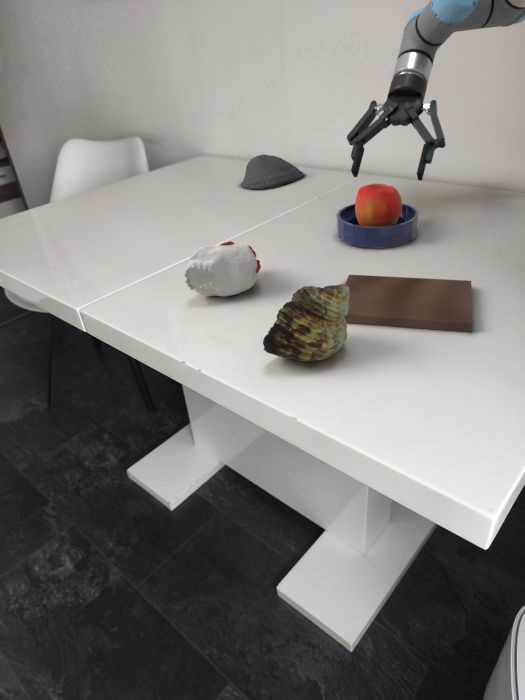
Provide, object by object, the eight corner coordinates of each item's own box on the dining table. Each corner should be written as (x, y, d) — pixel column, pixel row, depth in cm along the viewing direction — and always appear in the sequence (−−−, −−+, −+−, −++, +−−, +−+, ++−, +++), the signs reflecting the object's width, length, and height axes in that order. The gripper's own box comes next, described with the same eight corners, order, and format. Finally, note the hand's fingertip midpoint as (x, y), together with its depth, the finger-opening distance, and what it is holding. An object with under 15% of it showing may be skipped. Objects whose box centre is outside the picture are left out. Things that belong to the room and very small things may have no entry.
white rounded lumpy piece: (184, 303, 92) (220, 276, 104) (246, 308, 88) (275, 279, 101) (178, 251, 88) (216, 229, 100) (242, 255, 84) (273, 231, 97)
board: (469, 288, 89) (471, 280, 88) (471, 332, 78) (472, 323, 77) (348, 282, 94) (348, 274, 94) (334, 321, 83) (333, 313, 83)
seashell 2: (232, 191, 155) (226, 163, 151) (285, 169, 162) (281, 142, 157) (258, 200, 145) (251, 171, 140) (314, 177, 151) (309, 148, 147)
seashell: (274, 332, 82) (269, 272, 77) (350, 333, 80) (350, 271, 75) (263, 372, 74) (256, 307, 68) (347, 374, 71) (347, 308, 66)
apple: (389, 243, 106) (391, 193, 101) (345, 237, 111) (345, 189, 106) (406, 227, 113) (410, 179, 107) (364, 222, 117) (365, 175, 112)
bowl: (419, 221, 116) (420, 201, 114) (414, 251, 103) (415, 228, 101) (344, 220, 121) (344, 200, 118) (330, 248, 108) (330, 226, 106)
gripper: (472, 94, 111) (449, 188, 109) (356, 95, 122) (333, 181, 119) (471, 68, 105) (447, 168, 102) (348, 72, 115) (324, 163, 112)
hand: (385, 175), depth 110 cm, fingers open, 13 cm apart
